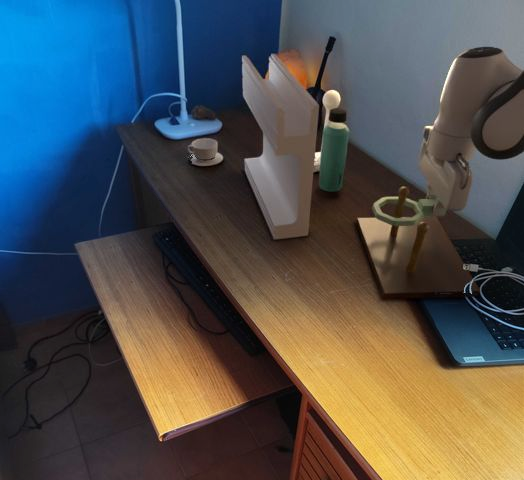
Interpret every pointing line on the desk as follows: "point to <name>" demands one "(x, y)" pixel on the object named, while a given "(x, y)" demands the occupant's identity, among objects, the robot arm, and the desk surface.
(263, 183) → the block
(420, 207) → the hanging tag
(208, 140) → the teacup
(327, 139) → the beverage bottle
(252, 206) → the desk surface
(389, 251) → the peg rack
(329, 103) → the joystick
